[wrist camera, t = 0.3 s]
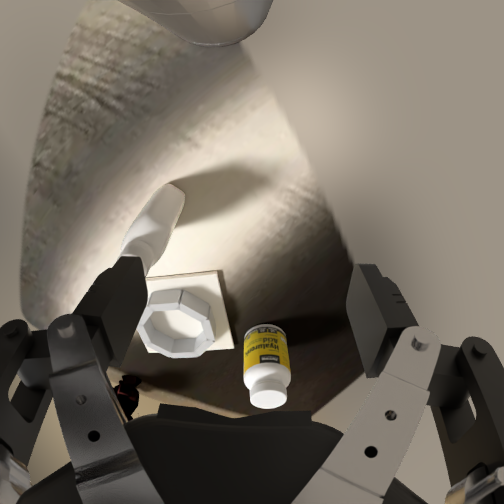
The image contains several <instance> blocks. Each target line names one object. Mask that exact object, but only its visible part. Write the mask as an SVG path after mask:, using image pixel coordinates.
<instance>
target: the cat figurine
mask: <svg viewBox="0 0 504 504" xmlns="http://www.w3.org/2000/svg"><path fill="white" fill-rule="evenodd" d="M122 379H123V381H121V380H120V381H119V385H117V386H115V388H113V390H114V392H115V394H116V397H117V399H118V401H119V404H120V406H121V408H122V410H123V412H124V414H125V416H126V418H127V420H128V421H130V420H133V418H132V416H131V415H132V413H133V412H134V411H135V409H136V408H137V406H138V402H139V391H137V390H136V388H135V387H136V386H137V385H139V384H140V383H141V379H139V378H137V377H136V376H129V375H124V376H122Z"/></svg>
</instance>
